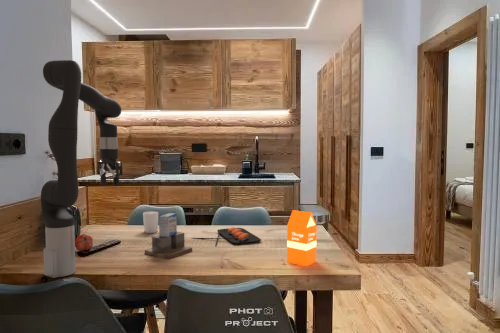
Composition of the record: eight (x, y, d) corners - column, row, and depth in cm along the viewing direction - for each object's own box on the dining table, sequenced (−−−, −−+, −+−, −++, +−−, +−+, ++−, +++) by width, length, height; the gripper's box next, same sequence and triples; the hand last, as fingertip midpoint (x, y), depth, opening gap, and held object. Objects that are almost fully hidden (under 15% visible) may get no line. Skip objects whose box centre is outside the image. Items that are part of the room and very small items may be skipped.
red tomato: (72, 255, 166) (73, 246, 159) (74, 240, 170) (75, 230, 163) (91, 255, 169) (93, 246, 162) (92, 240, 173) (94, 230, 166)
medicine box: (168, 237, 159) (168, 216, 158) (158, 236, 160) (158, 216, 159) (176, 233, 166) (176, 213, 166) (167, 232, 167) (167, 212, 167)
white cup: (140, 232, 200) (139, 213, 199) (148, 229, 207) (148, 211, 207) (153, 233, 197) (153, 214, 197) (161, 230, 205) (161, 211, 204)
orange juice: (297, 257, 156) (297, 208, 155) (316, 261, 151) (317, 211, 149) (286, 262, 150) (286, 211, 149) (306, 266, 145) (306, 214, 143)
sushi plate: (262, 244, 179) (262, 236, 179) (199, 250, 168) (199, 241, 168) (241, 230, 206) (241, 223, 206) (186, 235, 195) (186, 228, 195)
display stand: (192, 251, 165) (192, 233, 165) (168, 259, 154) (168, 240, 153) (168, 246, 173) (168, 229, 173) (144, 253, 161) (144, 236, 161)
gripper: (91, 148, 167) (92, 185, 168) (112, 148, 159) (113, 187, 160) (106, 147, 173) (106, 183, 174) (126, 148, 165) (127, 185, 166)
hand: (109, 185), depth 167 cm, fingers open, 8 cm apart
